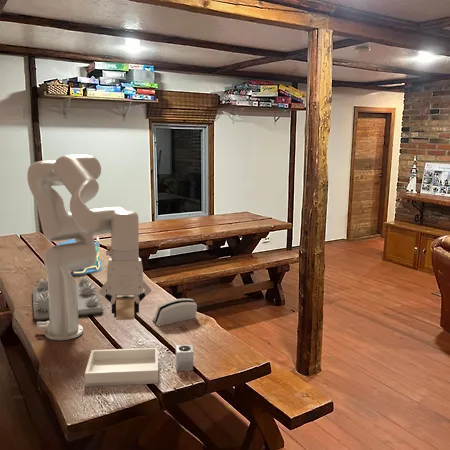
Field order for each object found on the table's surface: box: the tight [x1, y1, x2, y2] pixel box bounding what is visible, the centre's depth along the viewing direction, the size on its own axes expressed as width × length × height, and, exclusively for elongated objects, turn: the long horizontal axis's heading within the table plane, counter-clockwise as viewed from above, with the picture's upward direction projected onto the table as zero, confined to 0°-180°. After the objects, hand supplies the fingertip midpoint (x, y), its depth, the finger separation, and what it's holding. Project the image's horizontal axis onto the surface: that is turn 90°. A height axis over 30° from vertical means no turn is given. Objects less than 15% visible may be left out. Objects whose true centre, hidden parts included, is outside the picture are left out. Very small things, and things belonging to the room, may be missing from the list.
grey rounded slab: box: [152, 298, 198, 326], centre depth 172 cm, size 17×5×10 cm, turn 123°
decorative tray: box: [32, 276, 105, 321], centre depth 186 cm, size 35×26×10 cm
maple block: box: [115, 295, 135, 321], centre depth 131 cm, size 5×5×6 cm
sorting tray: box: [84, 347, 159, 388], centre depth 134 cm, size 20×14×4 cm
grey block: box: [175, 344, 194, 372], centre depth 138 cm, size 5×5×6 cm
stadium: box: [55, 236, 103, 276], centre depth 239 cm, size 35×24×14 cm
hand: (125, 314), depth 132 cm, fingers closed on maple block, 5 cm apart
